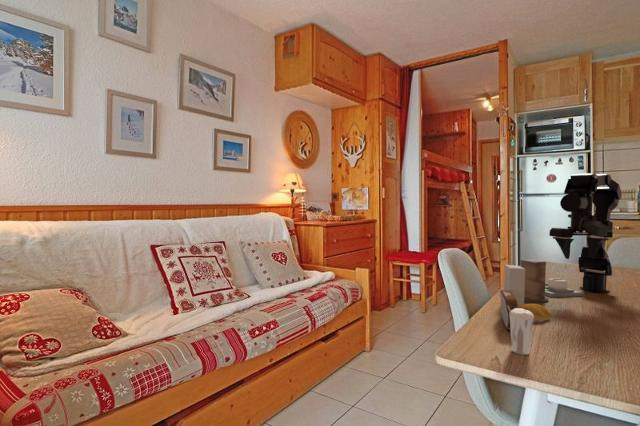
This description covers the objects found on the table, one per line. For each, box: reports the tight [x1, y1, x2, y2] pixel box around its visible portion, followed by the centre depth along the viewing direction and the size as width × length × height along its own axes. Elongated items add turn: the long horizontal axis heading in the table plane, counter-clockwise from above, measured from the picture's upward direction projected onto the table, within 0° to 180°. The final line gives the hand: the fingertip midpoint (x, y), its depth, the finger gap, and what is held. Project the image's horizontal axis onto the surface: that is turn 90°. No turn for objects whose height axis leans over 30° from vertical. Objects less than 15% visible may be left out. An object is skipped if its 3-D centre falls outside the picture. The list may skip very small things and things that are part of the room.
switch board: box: [545, 282, 584, 298], centre depth 129 cm, size 12×11×2 cm
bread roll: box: [518, 303, 551, 323], centre depth 101 cm, size 8×9×4 cm
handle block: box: [520, 258, 547, 300], centre depth 120 cm, size 5×5×12 cm
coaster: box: [524, 296, 549, 304], centre depth 120 cm, size 9×9×1 cm
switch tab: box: [547, 277, 568, 290], centre depth 127 cm, size 4×4×4 cm
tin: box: [499, 289, 518, 331], centre depth 95 cm, size 15×3×8 cm, turn 160°
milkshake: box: [508, 306, 534, 356], centre depth 78 cm, size 4×5×10 cm
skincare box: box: [503, 264, 525, 306], centre depth 112 cm, size 6×4×12 cm
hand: (579, 258), depth 122 cm, fingers open, 9 cm apart
